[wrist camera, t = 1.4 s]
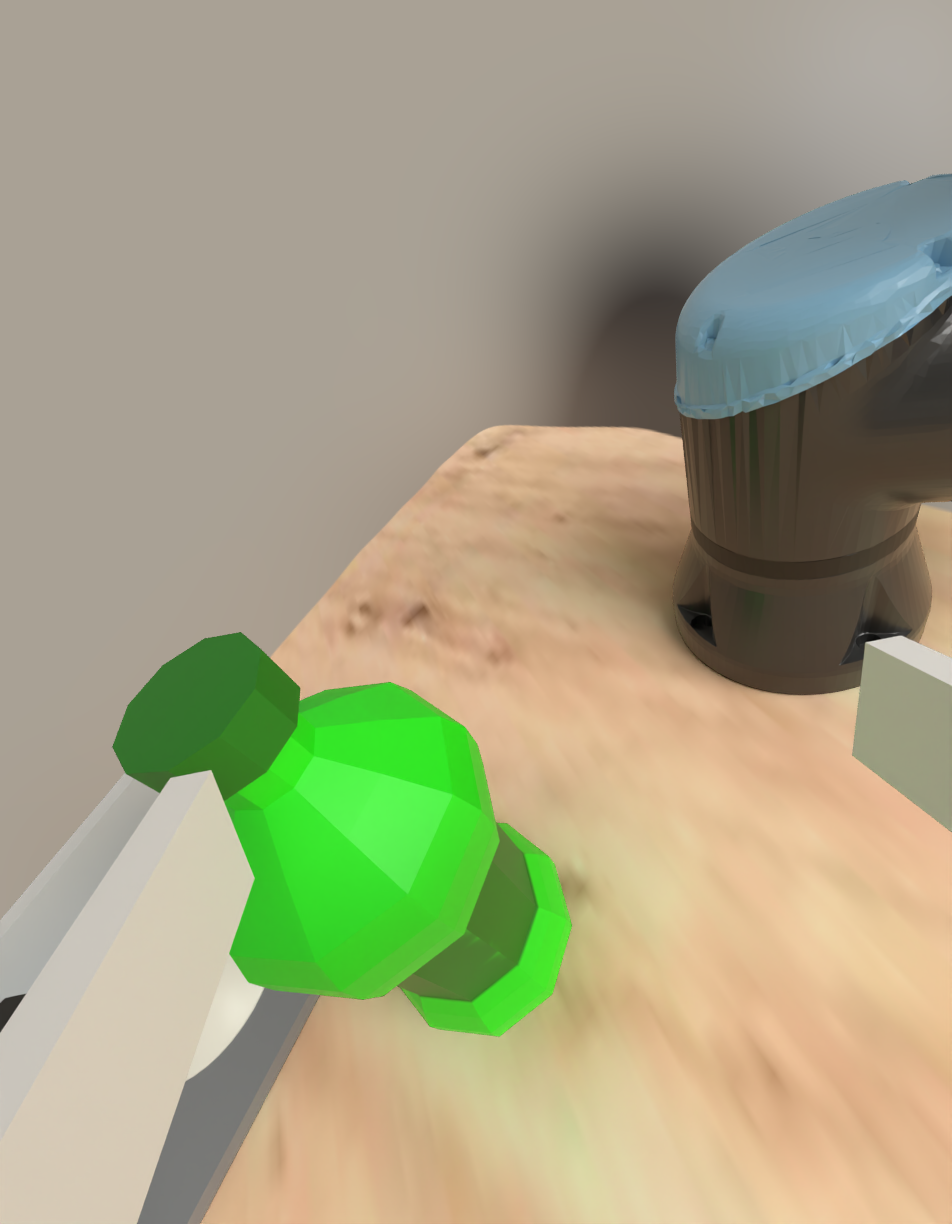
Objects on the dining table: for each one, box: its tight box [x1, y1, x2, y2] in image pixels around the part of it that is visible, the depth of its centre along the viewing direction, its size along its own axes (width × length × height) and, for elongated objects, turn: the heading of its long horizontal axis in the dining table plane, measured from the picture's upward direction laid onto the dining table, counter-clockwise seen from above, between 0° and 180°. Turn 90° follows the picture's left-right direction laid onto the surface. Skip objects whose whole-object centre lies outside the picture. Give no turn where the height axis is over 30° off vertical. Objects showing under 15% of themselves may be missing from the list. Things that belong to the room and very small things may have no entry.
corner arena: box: [0, 773, 320, 1224], centre depth 34 cm, size 22×22×6 cm
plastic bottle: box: [113, 632, 572, 1036], centre depth 22 cm, size 10×10×25 cm
